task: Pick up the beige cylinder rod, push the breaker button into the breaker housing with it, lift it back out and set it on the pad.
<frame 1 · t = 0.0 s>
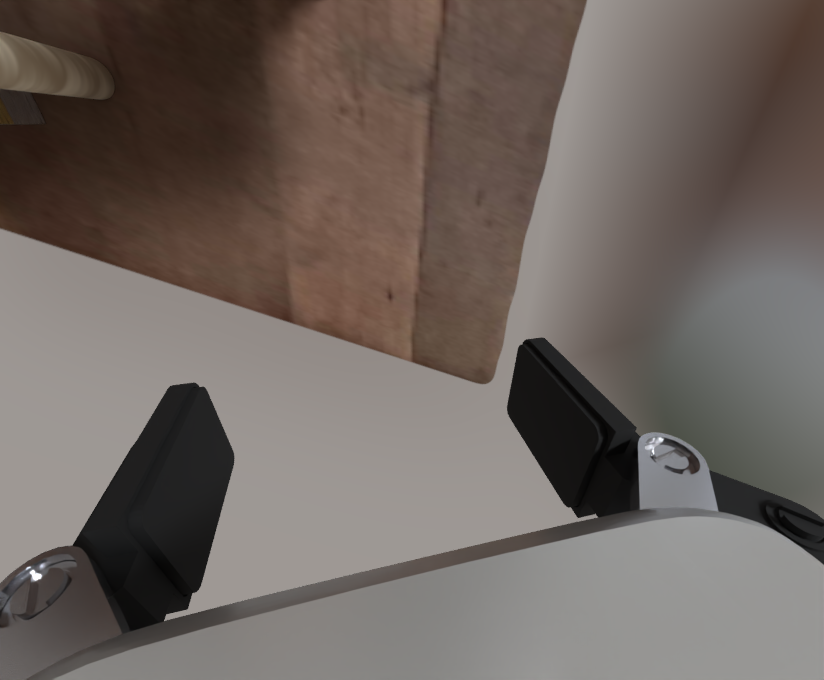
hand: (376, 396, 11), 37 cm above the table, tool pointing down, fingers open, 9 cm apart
beige cylinder rod: (93, 78, 31), on the table
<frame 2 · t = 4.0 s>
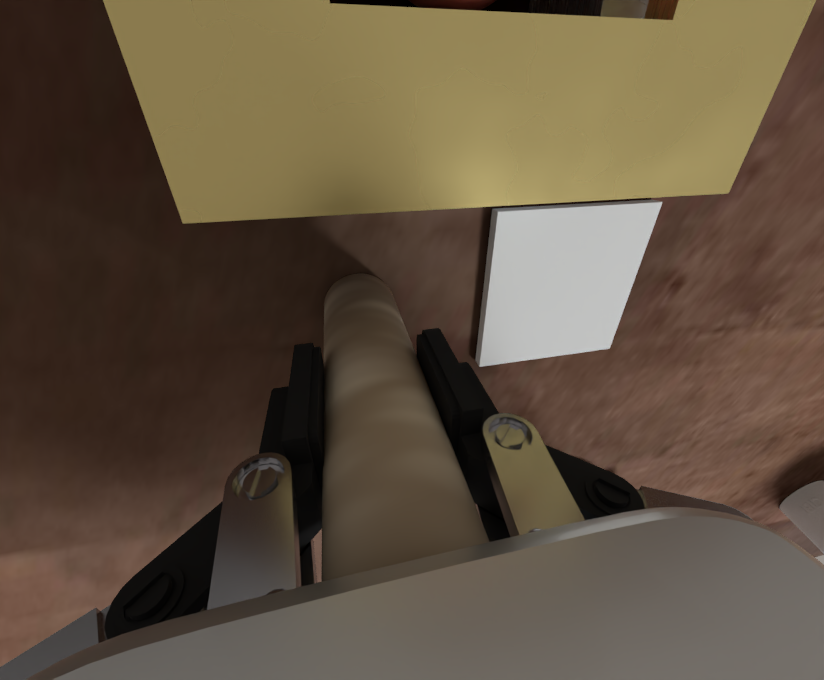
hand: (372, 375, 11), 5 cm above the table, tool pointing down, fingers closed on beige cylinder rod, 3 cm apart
pad: (556, 286, 17), on the table
dixie cup: (800, 494, 41), on the table
beige cylinder rod: (359, 306, 16), on the table, touching gripper
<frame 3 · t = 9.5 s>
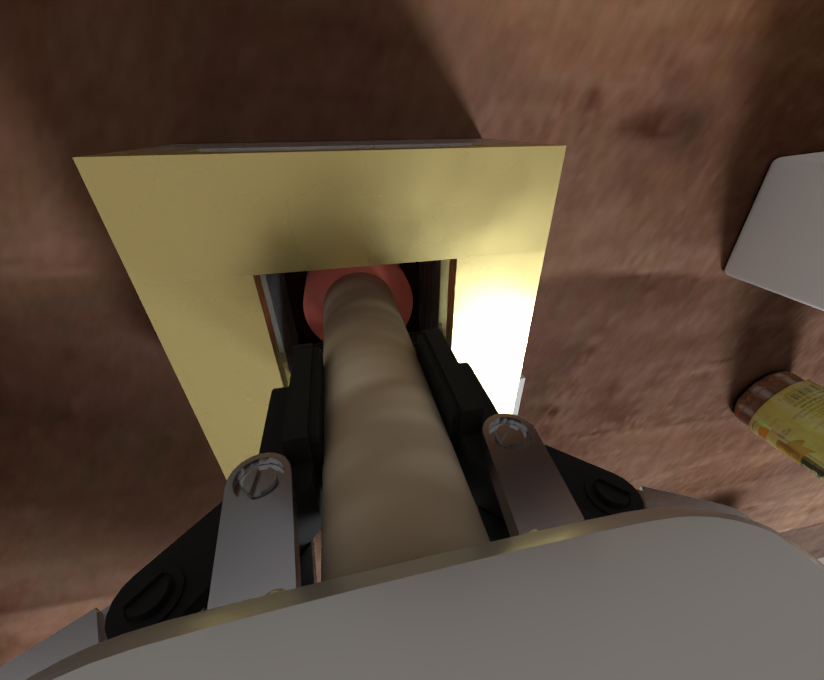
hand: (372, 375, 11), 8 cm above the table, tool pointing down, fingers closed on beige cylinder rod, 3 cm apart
breaker button: (357, 295, 17), point 2 cm above the table, slide at 2.0 cm, touching beige cylinder rod
medicine bottle: (786, 212, 22), on the table
beige cylinder rod: (359, 305, 16), point 3 cm above the table, touching breaker button, gripper
breaker housing: (355, 281, 18), on the table
sauce bottle: (758, 392, 33), on the table
when the fingers open (7 cm above the table, at t = 15.6 s): beige cylinder rod stays where it is, resting on pad.
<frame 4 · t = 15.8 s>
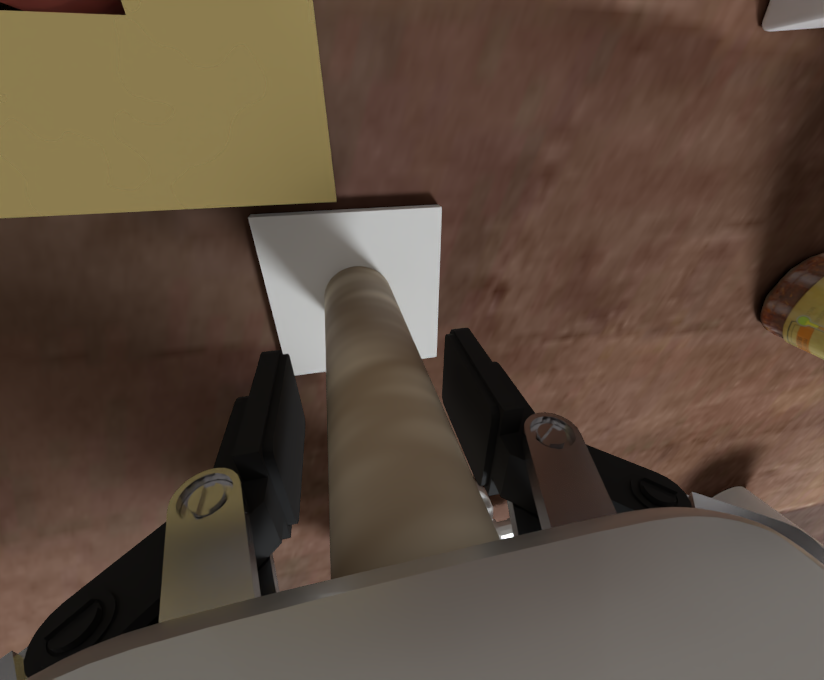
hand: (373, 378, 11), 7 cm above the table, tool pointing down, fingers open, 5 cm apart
pad: (357, 294, 17), on the table
dixie cup: (720, 500, 41), on the table
beige cylinder rod: (358, 298, 16), point 1 cm above the table, touching pad
sauce bottle: (793, 290, 24), on the table
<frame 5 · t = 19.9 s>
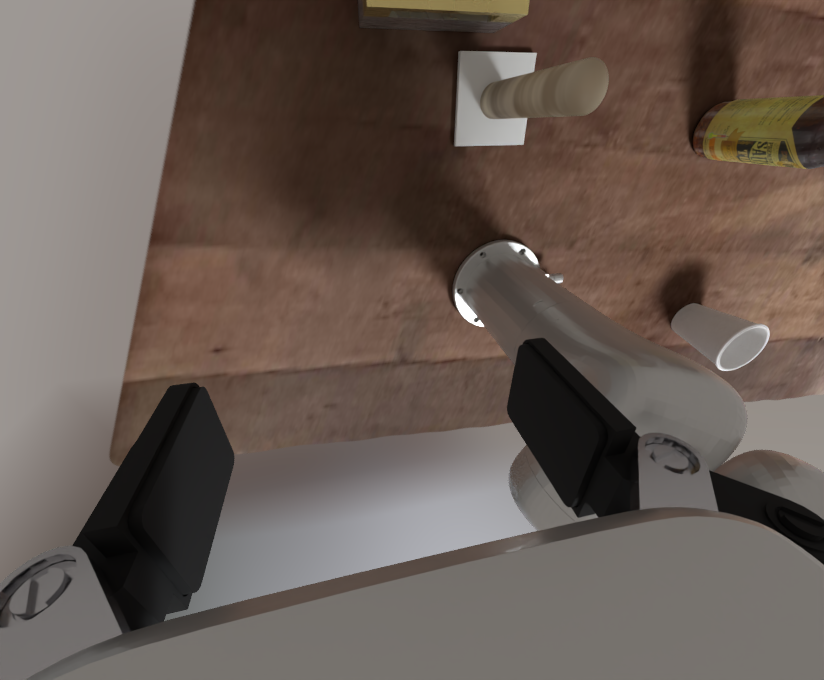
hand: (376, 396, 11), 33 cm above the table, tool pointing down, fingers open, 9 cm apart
pad: (492, 101, 36), on the table
dixie cup: (685, 317, 60), on the table
beige cylinder rod: (494, 100, 36), point 1 cm above the table, touching pad
sauce bottle: (711, 130, 43), on the table
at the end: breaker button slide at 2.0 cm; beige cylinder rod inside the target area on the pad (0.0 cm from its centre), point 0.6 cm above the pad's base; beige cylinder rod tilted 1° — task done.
